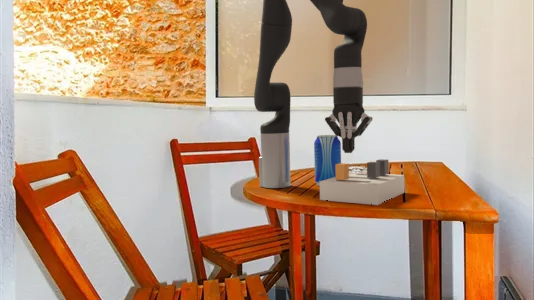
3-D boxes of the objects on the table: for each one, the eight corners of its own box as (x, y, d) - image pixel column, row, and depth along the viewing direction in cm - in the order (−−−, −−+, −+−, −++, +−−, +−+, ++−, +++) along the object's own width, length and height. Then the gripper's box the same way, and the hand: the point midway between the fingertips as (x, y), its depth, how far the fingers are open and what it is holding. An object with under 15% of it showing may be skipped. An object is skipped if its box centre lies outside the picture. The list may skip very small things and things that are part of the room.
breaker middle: (367, 177, 122) (366, 162, 121) (371, 176, 124) (371, 161, 124) (375, 178, 120) (375, 163, 120) (379, 176, 123) (379, 161, 122)
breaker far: (376, 174, 127) (376, 160, 127) (380, 173, 129) (380, 159, 129) (384, 175, 126) (384, 160, 125) (388, 173, 128) (388, 159, 128)
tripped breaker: (335, 179, 120) (335, 164, 120) (340, 178, 122) (340, 163, 122) (344, 180, 118) (343, 164, 118) (348, 178, 121) (348, 163, 121)
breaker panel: (320, 199, 121) (319, 180, 120) (351, 188, 137) (351, 172, 137) (377, 205, 112) (377, 184, 111) (404, 192, 128) (404, 174, 127)
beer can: (340, 187, 141) (339, 135, 140) (313, 187, 143) (312, 136, 142) (342, 183, 149) (341, 134, 148) (316, 183, 151) (315, 135, 150)
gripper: (318, 86, 118) (319, 153, 120) (366, 84, 111) (366, 154, 112) (331, 87, 124) (332, 150, 126) (377, 85, 117) (378, 152, 118)
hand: (348, 152), depth 119 cm, fingers closed
